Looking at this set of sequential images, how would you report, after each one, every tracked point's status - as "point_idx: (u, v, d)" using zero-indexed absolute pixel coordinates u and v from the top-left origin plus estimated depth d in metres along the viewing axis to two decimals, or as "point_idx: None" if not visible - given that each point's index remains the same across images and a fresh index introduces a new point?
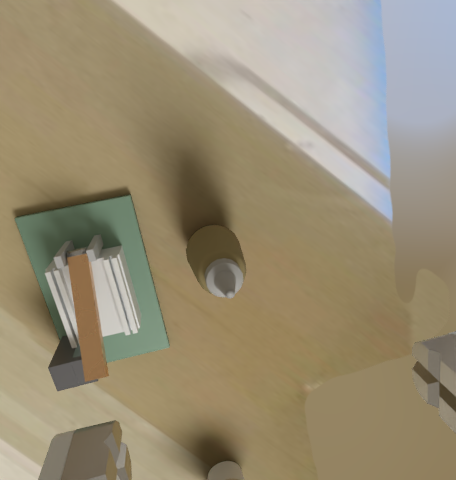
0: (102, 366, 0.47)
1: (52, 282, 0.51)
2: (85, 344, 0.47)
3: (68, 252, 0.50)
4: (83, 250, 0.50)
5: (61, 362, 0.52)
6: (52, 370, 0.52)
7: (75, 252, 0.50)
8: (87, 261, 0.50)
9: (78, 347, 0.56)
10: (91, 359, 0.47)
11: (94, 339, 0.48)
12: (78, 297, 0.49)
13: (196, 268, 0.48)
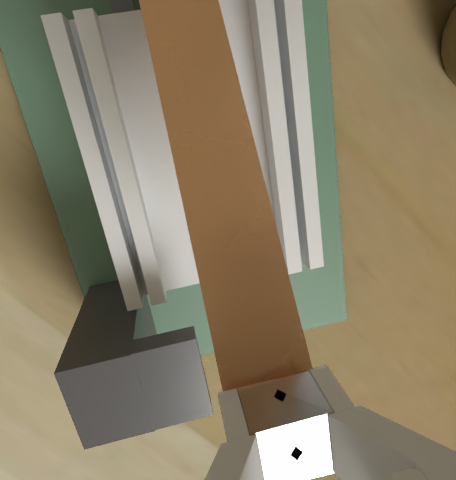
0: None
1: (69, 60, 0.14)
2: (223, 276, 0.11)
3: None
4: None
5: (99, 354, 0.15)
6: (69, 382, 0.15)
7: None
8: None
9: (140, 312, 0.19)
10: (254, 339, 0.11)
11: (257, 255, 0.11)
12: (180, 91, 0.12)
13: None
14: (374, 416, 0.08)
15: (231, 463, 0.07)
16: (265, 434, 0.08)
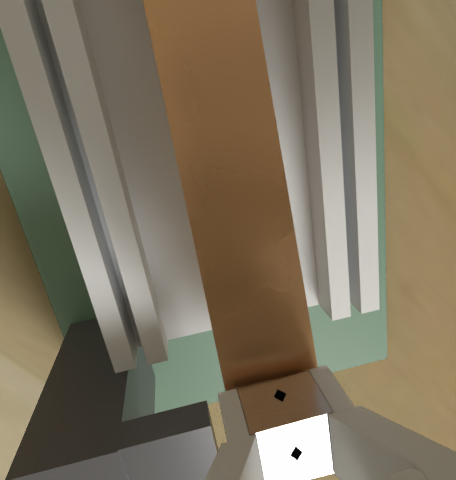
0: None
1: (21, 19, 0.09)
2: (241, 339, 0.10)
3: None
4: None
5: (72, 448, 0.11)
6: None
7: None
8: None
9: None
10: None
11: (280, 315, 0.10)
12: (194, 106, 0.09)
13: None
14: (374, 416, 0.08)
15: (231, 463, 0.07)
16: (265, 434, 0.08)
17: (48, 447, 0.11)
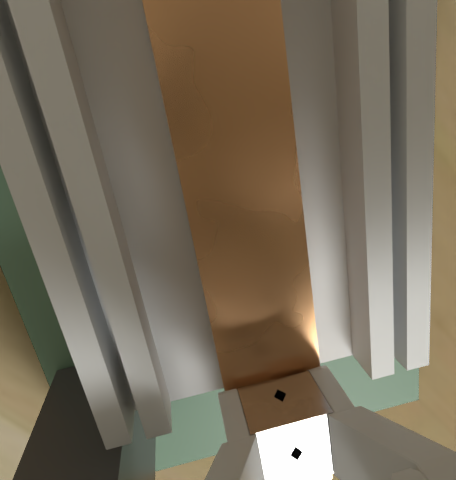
0: None
1: None
2: (249, 373, 0.10)
3: None
4: None
5: None
6: None
7: None
8: None
9: None
10: None
11: (289, 350, 0.10)
12: (205, 134, 0.08)
13: None
14: (374, 416, 0.08)
15: (231, 463, 0.07)
16: (265, 434, 0.08)
17: None
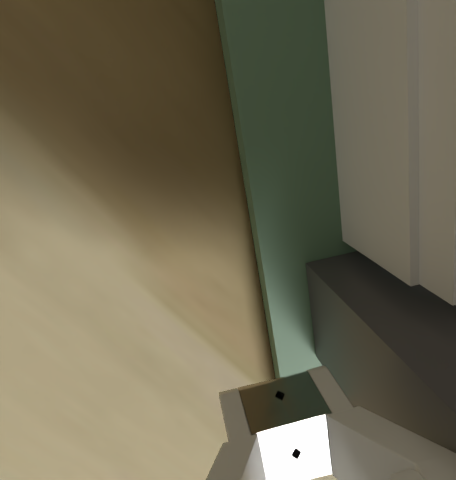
0: None
1: None
2: None
3: None
4: None
5: None
6: None
7: None
8: None
9: None
10: None
11: None
12: None
13: None
14: (372, 417, 0.08)
15: (232, 463, 0.07)
16: (266, 434, 0.08)
17: None
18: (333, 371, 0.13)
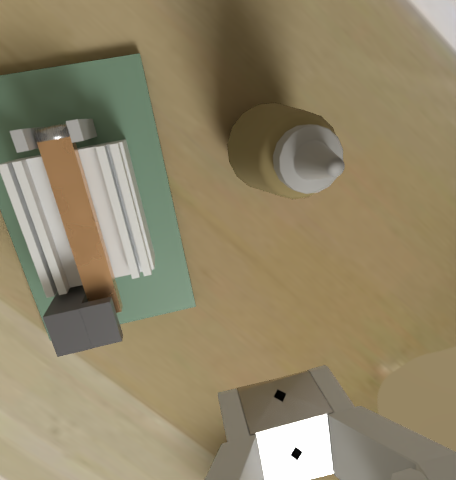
0: (115, 299, 0.35)
1: (11, 182, 0.31)
2: (87, 273, 0.34)
3: (37, 133, 0.30)
4: (62, 131, 0.30)
5: (64, 309, 0.32)
6: (49, 321, 0.32)
7: (49, 134, 0.30)
8: (72, 150, 0.30)
9: None
10: (98, 291, 0.34)
11: (99, 266, 0.34)
12: (66, 207, 0.32)
13: (256, 148, 0.28)
14: (374, 416, 0.08)
15: (231, 463, 0.07)
16: (265, 434, 0.08)
17: (56, 310, 0.32)
18: None
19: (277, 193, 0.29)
